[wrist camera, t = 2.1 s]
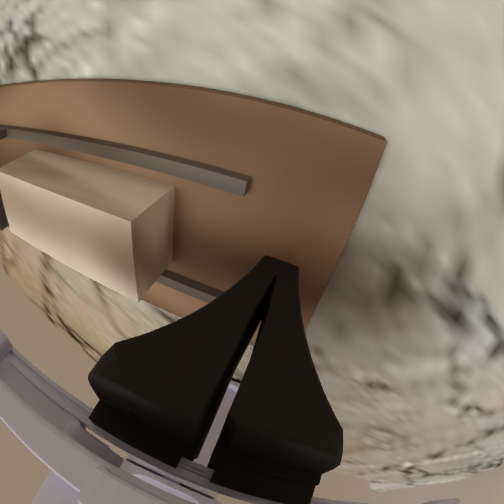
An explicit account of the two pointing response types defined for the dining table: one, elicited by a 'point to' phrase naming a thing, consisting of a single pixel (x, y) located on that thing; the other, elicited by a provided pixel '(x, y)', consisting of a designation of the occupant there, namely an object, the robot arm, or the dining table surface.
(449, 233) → the dining table surface
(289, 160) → the board
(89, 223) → the cream rectangular block
